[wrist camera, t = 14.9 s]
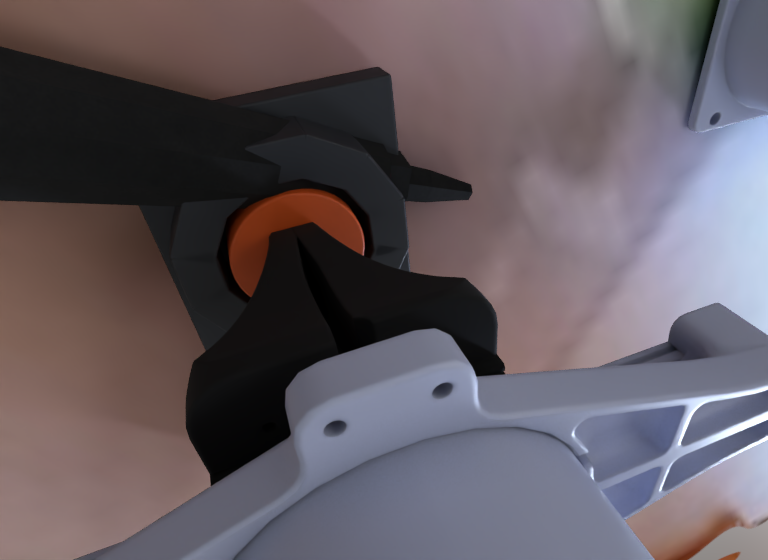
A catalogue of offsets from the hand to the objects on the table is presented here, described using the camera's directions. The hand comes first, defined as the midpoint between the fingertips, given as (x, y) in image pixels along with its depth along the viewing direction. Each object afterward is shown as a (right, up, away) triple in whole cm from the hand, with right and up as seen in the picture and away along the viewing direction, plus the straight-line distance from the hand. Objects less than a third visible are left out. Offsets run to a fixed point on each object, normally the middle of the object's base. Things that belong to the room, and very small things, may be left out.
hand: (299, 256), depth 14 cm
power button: (-1, +1, +1) cm, 2 cm away
